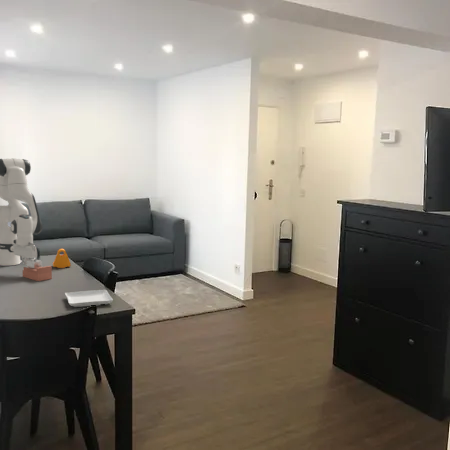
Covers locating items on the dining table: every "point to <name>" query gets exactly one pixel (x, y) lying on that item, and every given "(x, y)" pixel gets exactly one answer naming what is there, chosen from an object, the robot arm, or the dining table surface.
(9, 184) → the robot arm
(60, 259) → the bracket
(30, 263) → the block with knob
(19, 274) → the dining table surface
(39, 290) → the dining table surface
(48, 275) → the pink boxy piece
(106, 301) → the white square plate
